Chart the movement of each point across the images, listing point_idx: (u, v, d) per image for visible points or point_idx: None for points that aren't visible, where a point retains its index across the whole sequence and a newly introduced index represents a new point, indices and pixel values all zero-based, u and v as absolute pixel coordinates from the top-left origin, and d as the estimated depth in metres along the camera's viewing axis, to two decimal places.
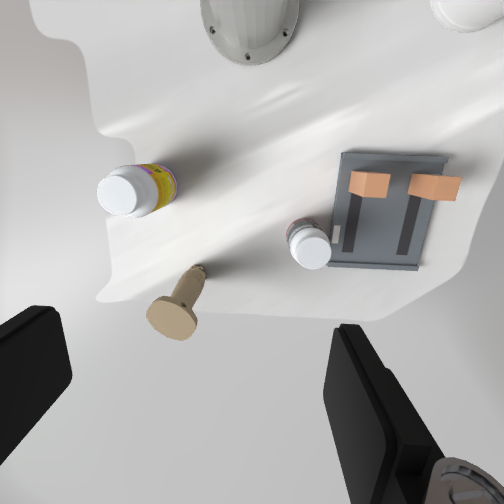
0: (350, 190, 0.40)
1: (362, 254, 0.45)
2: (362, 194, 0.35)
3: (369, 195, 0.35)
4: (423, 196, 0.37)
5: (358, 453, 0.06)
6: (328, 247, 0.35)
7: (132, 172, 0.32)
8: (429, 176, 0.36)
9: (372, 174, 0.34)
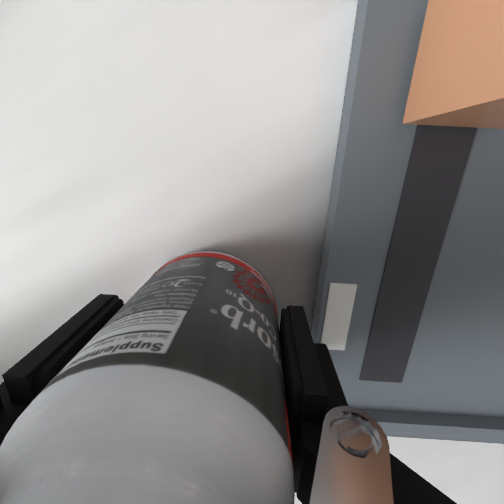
0: (421, 110, 0.07)
1: (437, 387, 0.12)
2: None
3: None
4: None
5: None
6: None
7: None
8: None
9: None
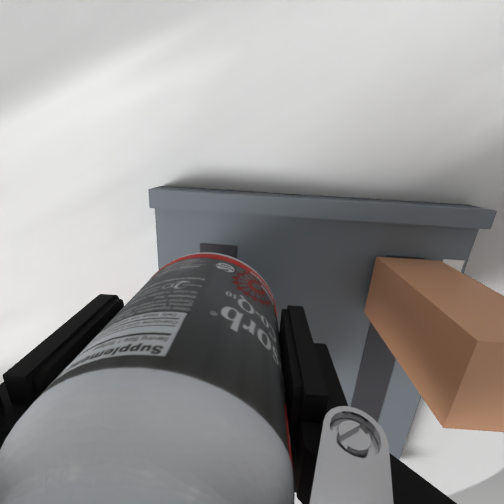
0: None
1: None
2: None
3: None
4: (408, 370, 0.10)
5: None
6: None
7: None
8: (432, 308, 0.08)
9: None
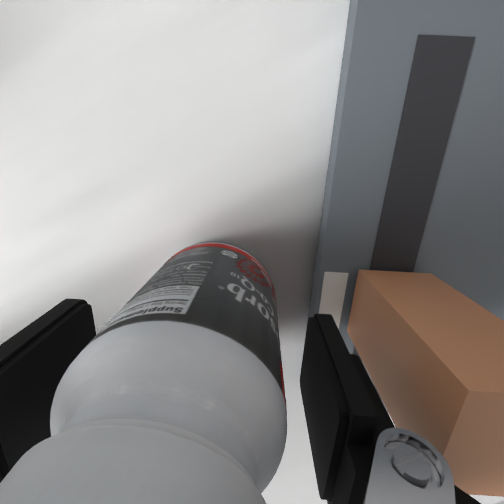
0: (354, 339, 0.11)
1: None
2: None
3: (467, 487, 0.06)
4: None
5: (321, 430, 0.07)
6: None
7: None
8: None
9: (502, 397, 0.05)
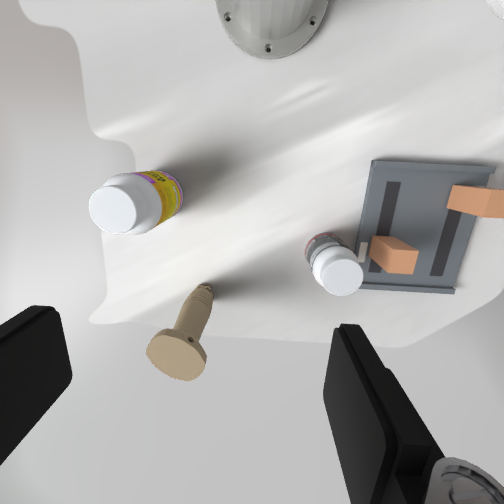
0: (371, 256, 0.37)
1: (391, 274, 0.39)
2: (387, 269, 0.33)
3: (395, 271, 0.32)
4: (469, 212, 0.32)
5: (358, 453, 0.06)
6: (360, 271, 0.30)
7: (131, 182, 0.27)
8: (478, 189, 0.31)
9: (399, 250, 0.31)
